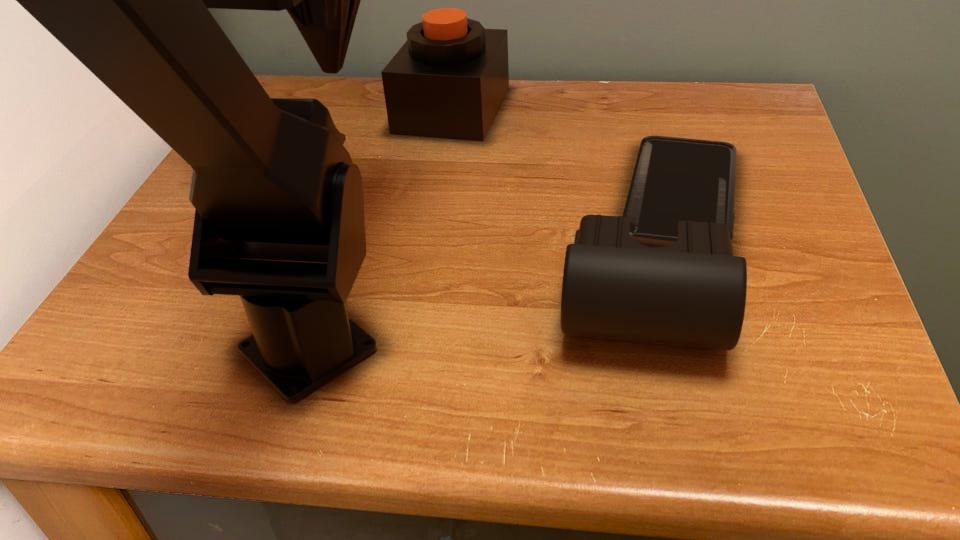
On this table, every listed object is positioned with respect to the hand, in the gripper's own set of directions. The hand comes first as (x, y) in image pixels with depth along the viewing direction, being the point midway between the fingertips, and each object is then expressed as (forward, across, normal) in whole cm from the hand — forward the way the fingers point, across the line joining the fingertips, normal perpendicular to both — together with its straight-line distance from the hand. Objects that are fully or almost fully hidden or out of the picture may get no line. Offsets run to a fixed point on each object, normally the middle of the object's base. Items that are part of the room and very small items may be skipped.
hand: (332, 71), depth 48 cm
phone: (+13, -9, +23) cm, 28 cm away
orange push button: (+5, -21, +1) cm, 21 cm away
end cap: (+13, +7, +22) cm, 26 cm away
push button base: (+13, -20, +1) cm, 24 cm away
